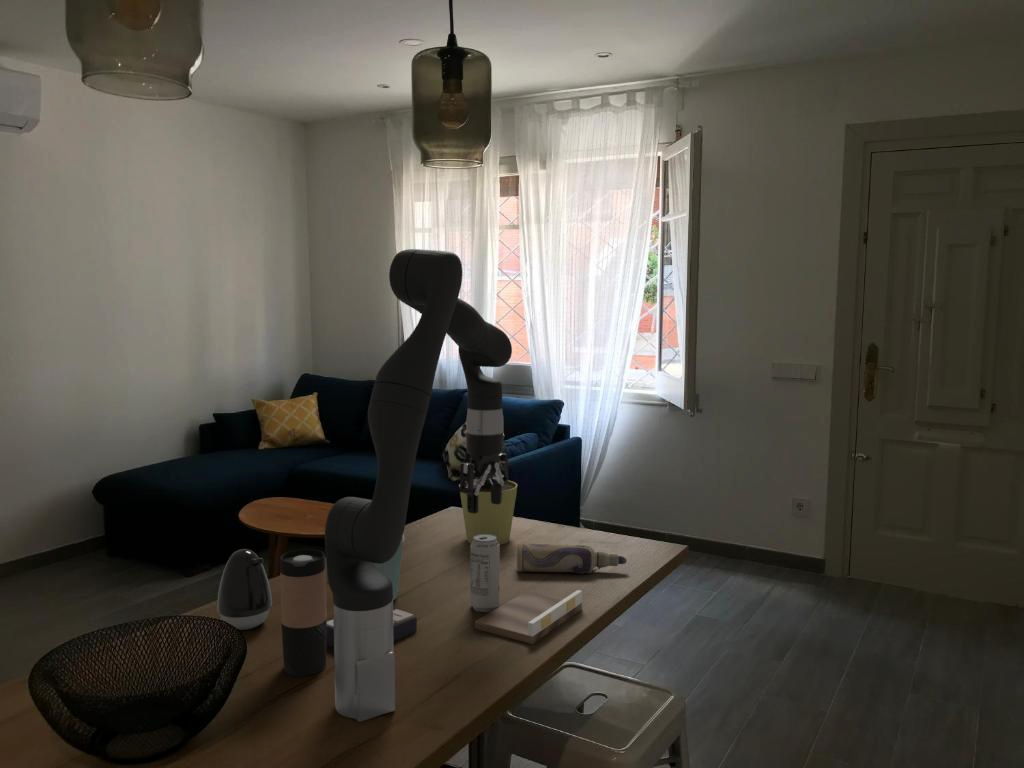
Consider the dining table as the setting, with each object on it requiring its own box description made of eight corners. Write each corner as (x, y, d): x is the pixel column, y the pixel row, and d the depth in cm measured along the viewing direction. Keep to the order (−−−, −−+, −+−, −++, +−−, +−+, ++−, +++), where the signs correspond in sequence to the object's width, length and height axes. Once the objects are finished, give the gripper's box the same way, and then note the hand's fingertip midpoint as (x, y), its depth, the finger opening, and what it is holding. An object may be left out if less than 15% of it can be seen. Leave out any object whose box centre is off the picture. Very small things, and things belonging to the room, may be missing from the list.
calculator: (418, 613, 158) (360, 635, 146) (417, 635, 158) (359, 658, 146) (378, 600, 164) (319, 620, 152) (377, 621, 165) (319, 642, 153)
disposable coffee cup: (395, 609, 168) (395, 539, 167) (346, 605, 170) (345, 535, 169) (412, 591, 179) (411, 524, 177) (365, 587, 181) (364, 521, 179)
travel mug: (309, 653, 148) (307, 546, 146) (336, 665, 143) (334, 555, 141) (273, 668, 142) (270, 556, 140) (300, 681, 137) (297, 566, 135)
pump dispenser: (243, 640, 153) (240, 561, 152) (206, 628, 159) (203, 552, 157) (284, 621, 162) (282, 547, 160) (248, 610, 167) (246, 538, 166)
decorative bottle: (515, 576, 189) (515, 548, 188) (517, 566, 196) (517, 539, 196) (627, 579, 187) (628, 550, 187) (625, 568, 195) (625, 541, 194)
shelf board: (532, 644, 152) (532, 636, 152) (475, 628, 159) (475, 621, 159) (581, 609, 169) (582, 602, 169) (528, 596, 176) (528, 590, 176)
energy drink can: (505, 607, 170) (505, 537, 168) (483, 615, 166) (483, 543, 164) (486, 599, 174) (486, 531, 172) (464, 607, 170) (464, 537, 168)
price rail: (533, 636, 152) (533, 623, 152) (528, 635, 152) (528, 622, 152) (582, 602, 169) (583, 591, 168) (577, 601, 169) (577, 589, 169)
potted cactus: (493, 527, 227) (493, 421, 224) (529, 540, 215) (530, 428, 212) (447, 538, 217) (447, 427, 214) (482, 552, 206) (483, 435, 202)
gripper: (480, 437, 158) (480, 519, 159) (519, 427, 170) (518, 503, 171) (449, 433, 162) (449, 513, 163) (489, 423, 174) (488, 498, 175)
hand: (484, 508), depth 167 cm, fingers open, 8 cm apart
